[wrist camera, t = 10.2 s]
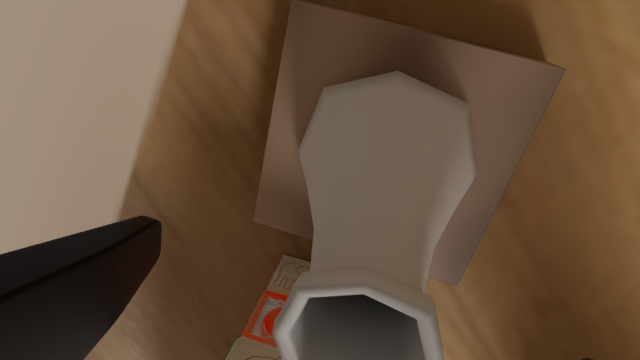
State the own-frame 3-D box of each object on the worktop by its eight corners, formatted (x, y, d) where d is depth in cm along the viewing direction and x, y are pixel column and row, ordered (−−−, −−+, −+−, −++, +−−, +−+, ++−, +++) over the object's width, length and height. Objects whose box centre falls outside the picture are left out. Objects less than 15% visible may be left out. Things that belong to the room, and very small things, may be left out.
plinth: (547, 61, 15) (565, 69, 13) (452, 260, 19) (456, 286, 18) (304, -1, 16) (291, -2, 14) (266, 202, 20) (252, 221, 19)
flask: (499, 80, 14) (667, 211, 5) (455, 246, 17) (508, 515, 8) (304, 59, 15) (151, 137, 6) (296, 219, 18) (186, 428, 9)
